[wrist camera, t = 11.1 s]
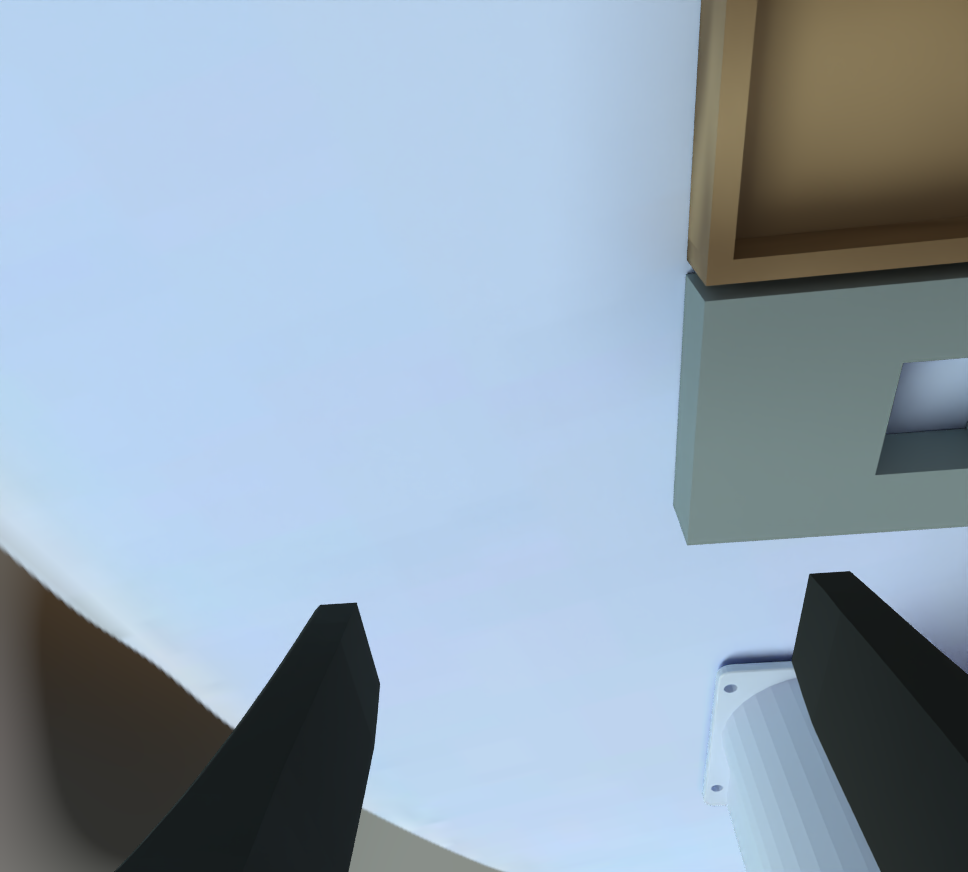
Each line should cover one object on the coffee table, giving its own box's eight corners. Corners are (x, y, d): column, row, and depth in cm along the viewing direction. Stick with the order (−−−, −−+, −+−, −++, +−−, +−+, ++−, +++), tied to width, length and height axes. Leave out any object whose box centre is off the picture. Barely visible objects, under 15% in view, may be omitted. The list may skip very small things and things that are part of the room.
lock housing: (1116, 473, 22) (1168, 513, 20) (673, 505, 23) (687, 545, 21) (1237, 222, 18) (1315, 245, 16) (685, 274, 19) (704, 301, 17)
